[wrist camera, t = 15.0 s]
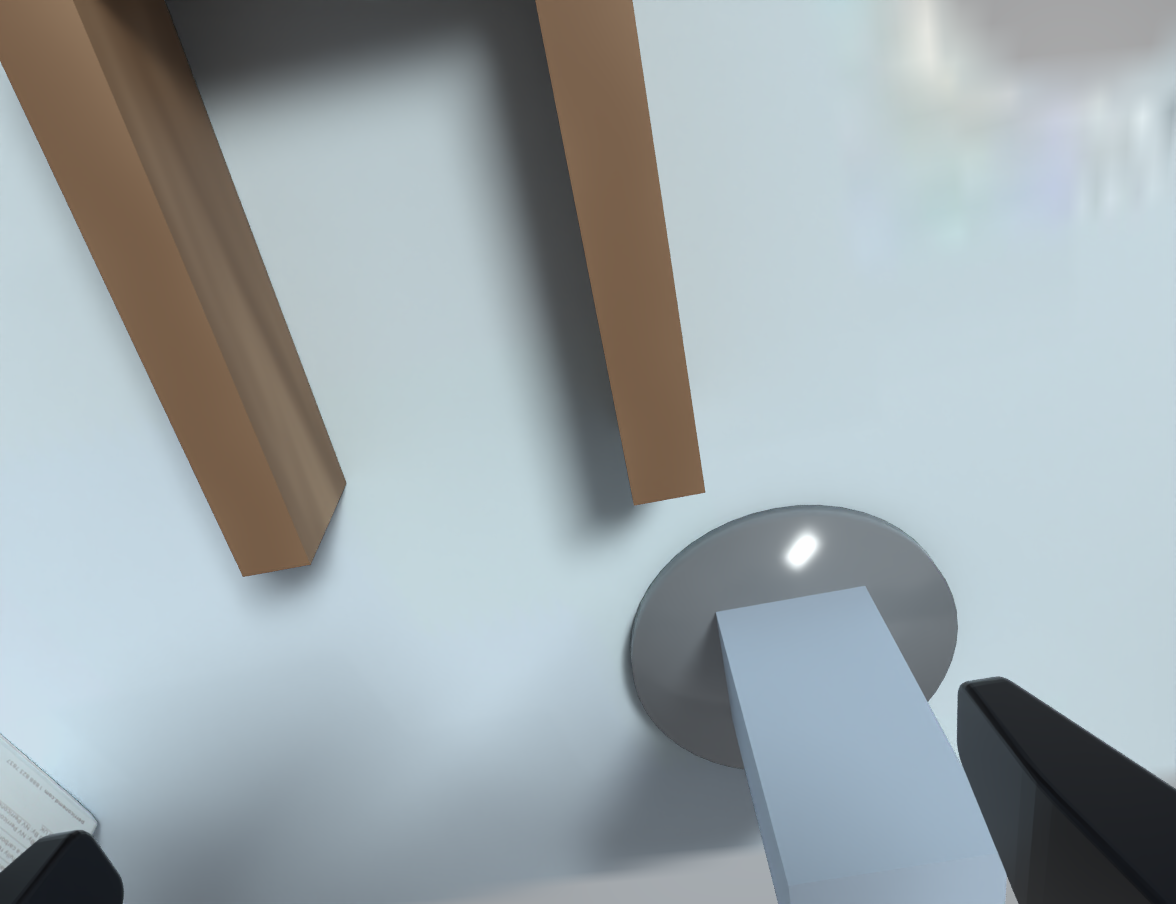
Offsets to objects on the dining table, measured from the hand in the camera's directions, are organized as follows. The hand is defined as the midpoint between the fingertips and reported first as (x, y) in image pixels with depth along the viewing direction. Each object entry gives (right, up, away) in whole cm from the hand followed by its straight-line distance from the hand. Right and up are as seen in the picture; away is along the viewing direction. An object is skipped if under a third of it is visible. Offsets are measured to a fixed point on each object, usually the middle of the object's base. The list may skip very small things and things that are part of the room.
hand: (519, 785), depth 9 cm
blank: (+6, -2, +15) cm, 16 cm away
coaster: (+6, -2, +15) cm, 17 cm away
